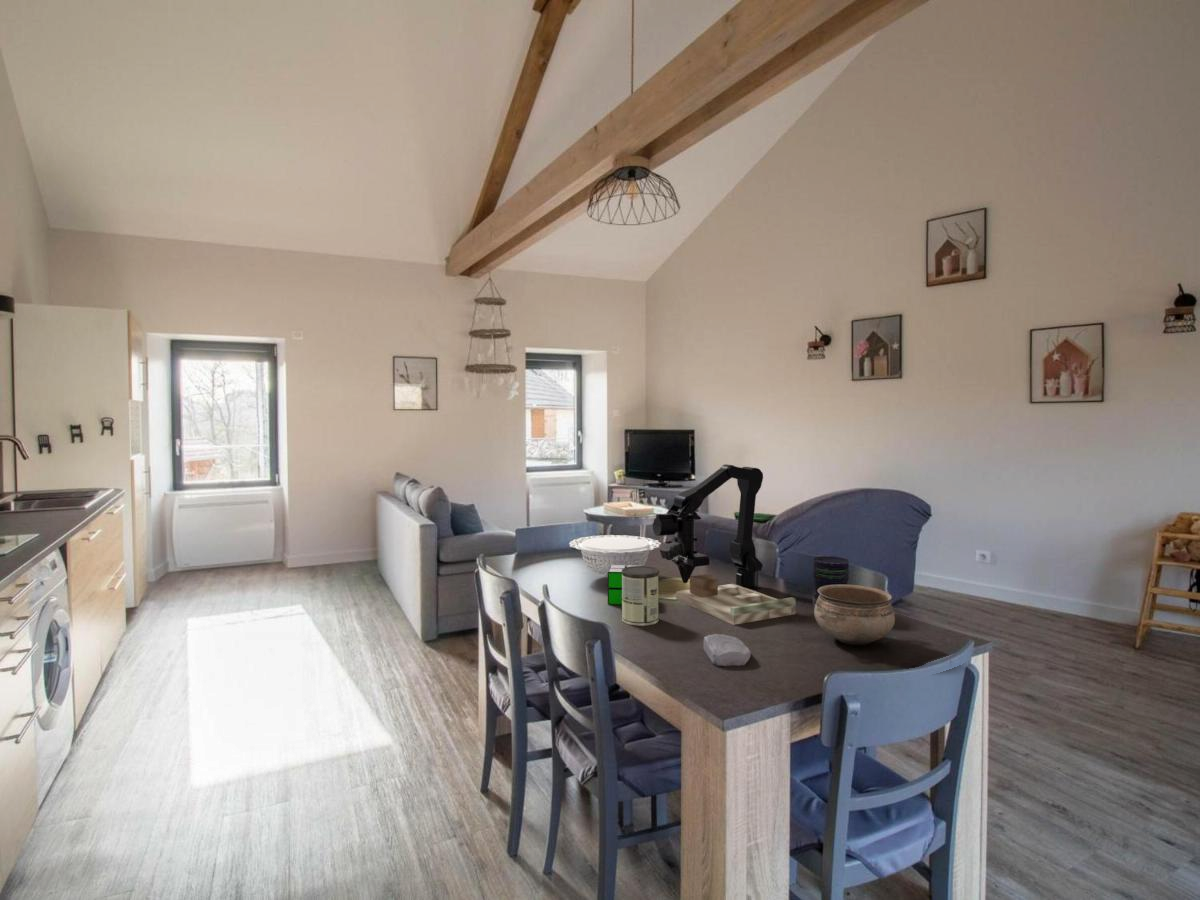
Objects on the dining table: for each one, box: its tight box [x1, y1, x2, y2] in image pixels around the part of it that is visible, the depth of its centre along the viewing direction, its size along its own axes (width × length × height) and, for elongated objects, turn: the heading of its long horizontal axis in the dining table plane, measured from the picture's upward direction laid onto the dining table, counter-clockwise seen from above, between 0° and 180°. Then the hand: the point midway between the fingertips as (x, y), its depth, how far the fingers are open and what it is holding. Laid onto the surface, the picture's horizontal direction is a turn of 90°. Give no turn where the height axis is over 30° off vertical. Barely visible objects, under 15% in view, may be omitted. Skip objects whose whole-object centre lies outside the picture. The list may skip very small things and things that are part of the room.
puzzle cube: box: [607, 564, 638, 606], centre depth 205 cm, size 10×10×10 cm
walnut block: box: [689, 574, 719, 597], centre depth 204 cm, size 6×6×5 cm
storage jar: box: [812, 555, 850, 612], centre depth 195 cm, size 10×10×15 cm
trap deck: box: [675, 583, 797, 626], centre depth 199 cm, size 22×28×4 cm
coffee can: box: [621, 565, 660, 627], centre depth 185 cm, size 10×10×14 cm
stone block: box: [703, 633, 752, 667], centre depth 157 cm, size 12×5×10 cm
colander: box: [568, 534, 662, 577], centre depth 232 cm, size 32×32×13 cm
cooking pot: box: [813, 584, 896, 646], centre depth 168 cm, size 25×19×12 cm
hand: (685, 582), depth 213 cm, fingers closed
